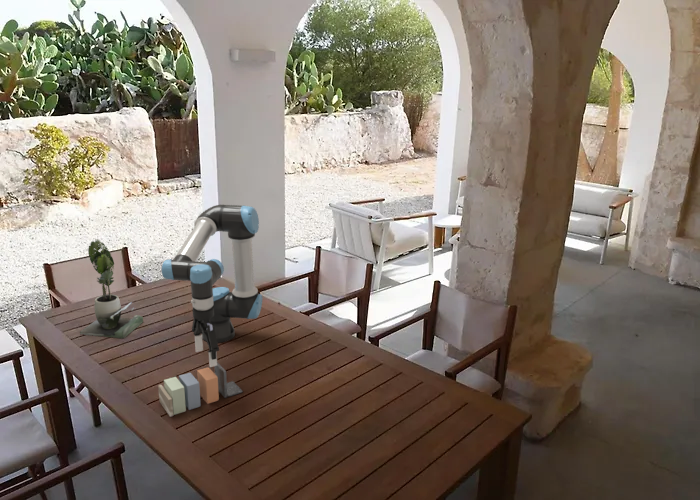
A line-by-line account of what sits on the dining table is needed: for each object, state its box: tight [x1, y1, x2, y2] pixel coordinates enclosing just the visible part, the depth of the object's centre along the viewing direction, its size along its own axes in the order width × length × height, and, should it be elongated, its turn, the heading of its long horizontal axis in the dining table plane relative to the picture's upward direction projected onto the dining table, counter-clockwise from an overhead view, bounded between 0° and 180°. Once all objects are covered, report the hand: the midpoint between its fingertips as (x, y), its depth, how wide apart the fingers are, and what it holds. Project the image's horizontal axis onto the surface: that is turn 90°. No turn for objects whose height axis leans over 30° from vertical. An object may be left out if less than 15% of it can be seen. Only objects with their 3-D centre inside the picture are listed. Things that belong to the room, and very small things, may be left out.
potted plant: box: [79, 238, 144, 340], centre depth 269 cm, size 22×19×45 cm
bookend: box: [213, 361, 244, 399], centre depth 224 cm, size 8×9×11 cm
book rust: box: [196, 366, 220, 405], centre depth 219 cm, size 4×9×10 cm, turn 36°
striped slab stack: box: [157, 384, 174, 417], centre depth 216 cm, size 18×12×7 cm, turn 126°
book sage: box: [163, 376, 187, 416], centre depth 212 cm, size 4×9×10 cm, turn 36°
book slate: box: [178, 372, 202, 411], centre depth 215 cm, size 4×9×10 cm, turn 36°
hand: (206, 358), depth 216 cm, fingers open, 13 cm apart
